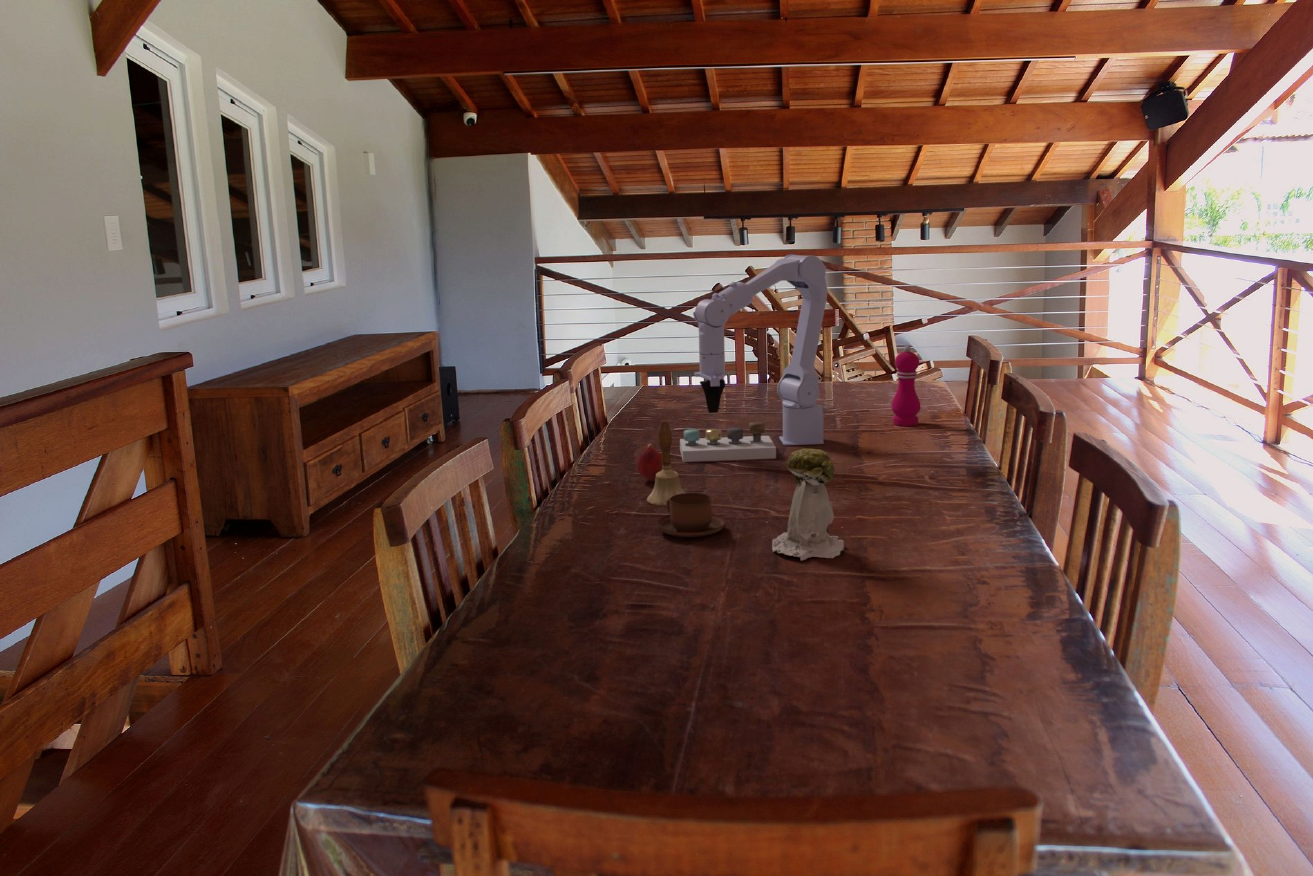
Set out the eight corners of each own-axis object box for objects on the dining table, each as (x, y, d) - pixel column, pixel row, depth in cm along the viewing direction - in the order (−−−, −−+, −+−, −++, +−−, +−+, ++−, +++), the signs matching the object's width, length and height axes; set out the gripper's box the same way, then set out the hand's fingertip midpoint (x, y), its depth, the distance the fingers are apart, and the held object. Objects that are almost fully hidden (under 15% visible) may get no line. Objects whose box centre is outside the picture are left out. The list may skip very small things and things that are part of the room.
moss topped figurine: (763, 541, 171) (762, 444, 167) (829, 535, 173) (830, 439, 169) (783, 563, 160) (783, 460, 156) (854, 556, 162) (855, 454, 158)
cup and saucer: (645, 538, 175) (644, 504, 174) (676, 518, 186) (675, 486, 184) (707, 546, 170) (707, 511, 168) (735, 526, 180) (735, 493, 179)
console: (768, 445, 237) (768, 435, 237) (776, 458, 226) (775, 447, 225) (680, 449, 237) (679, 439, 236) (682, 462, 225) (682, 451, 225)
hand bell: (672, 508, 191) (670, 426, 188) (638, 502, 196) (635, 422, 192) (697, 497, 198) (695, 418, 194) (663, 491, 203) (661, 414, 199)
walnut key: (763, 439, 233) (763, 421, 232) (765, 442, 229) (765, 424, 228) (748, 439, 232) (748, 422, 232) (750, 443, 229) (749, 425, 228)
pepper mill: (917, 420, 259) (919, 343, 254) (922, 426, 252) (924, 347, 247) (889, 420, 259) (890, 344, 255) (892, 427, 252) (894, 348, 248)
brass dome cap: (720, 445, 233) (720, 428, 232) (722, 449, 229) (721, 431, 228) (705, 446, 233) (705, 428, 232) (706, 450, 229) (706, 432, 228)
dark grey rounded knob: (742, 445, 233) (742, 427, 232) (744, 448, 229) (743, 430, 228) (726, 445, 233) (726, 428, 232) (728, 449, 229) (728, 431, 228)
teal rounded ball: (699, 446, 233) (698, 429, 232) (700, 450, 229) (700, 432, 228) (683, 447, 232) (683, 429, 232) (684, 451, 229) (684, 433, 228)
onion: (661, 485, 207) (660, 447, 205) (634, 484, 208) (633, 447, 206) (667, 477, 213) (665, 441, 211) (640, 477, 214) (639, 440, 212)
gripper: (692, 349, 233) (693, 406, 236) (696, 358, 219) (697, 419, 222) (722, 348, 233) (723, 405, 236) (728, 357, 219) (729, 418, 222)
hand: (713, 412), depth 229 cm, fingers closed
